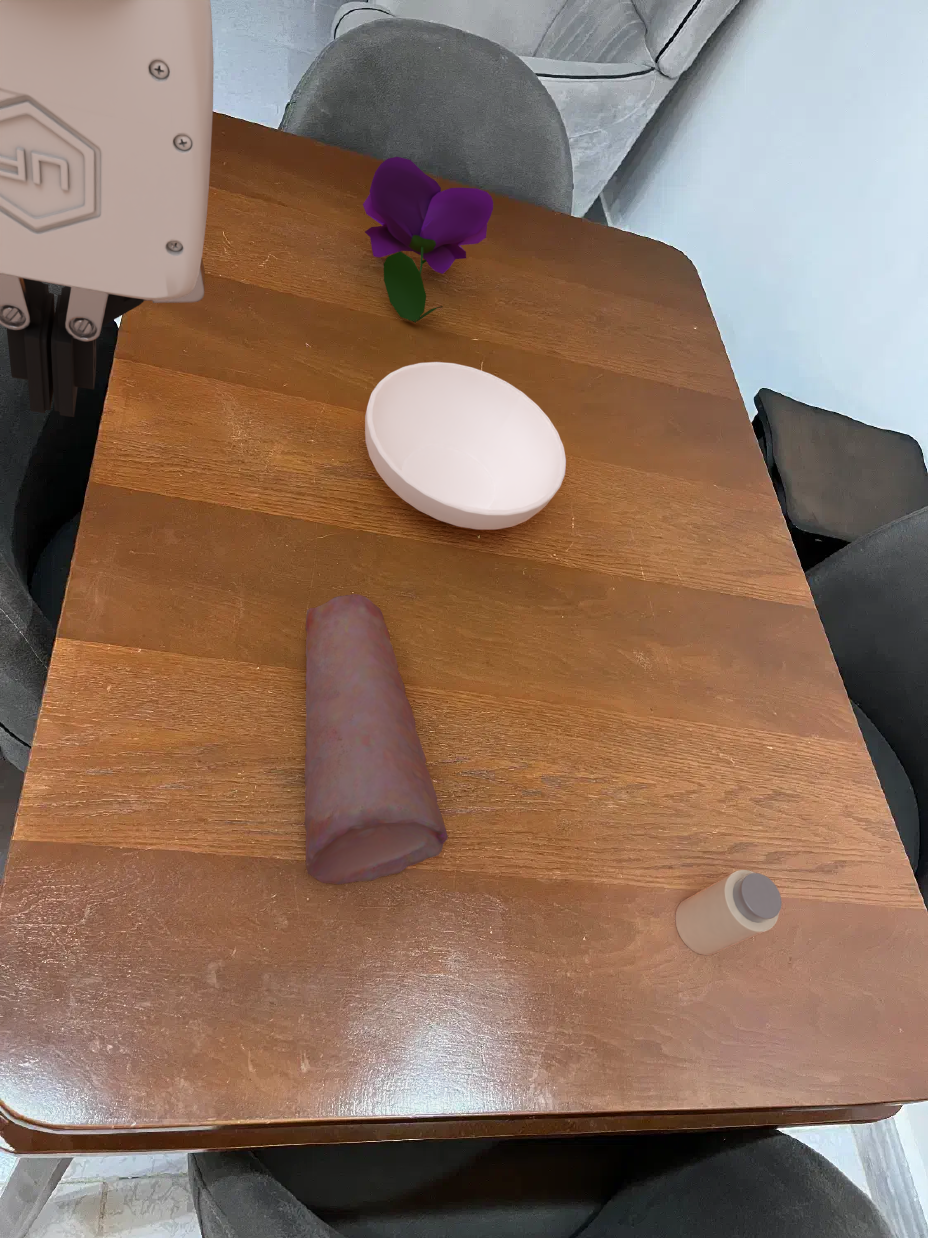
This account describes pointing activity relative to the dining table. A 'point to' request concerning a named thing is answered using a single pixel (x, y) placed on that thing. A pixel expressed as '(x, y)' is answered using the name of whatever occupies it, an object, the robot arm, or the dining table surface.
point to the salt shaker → (728, 912)
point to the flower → (420, 228)
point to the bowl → (463, 445)
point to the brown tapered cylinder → (362, 752)
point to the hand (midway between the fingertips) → (56, 390)
